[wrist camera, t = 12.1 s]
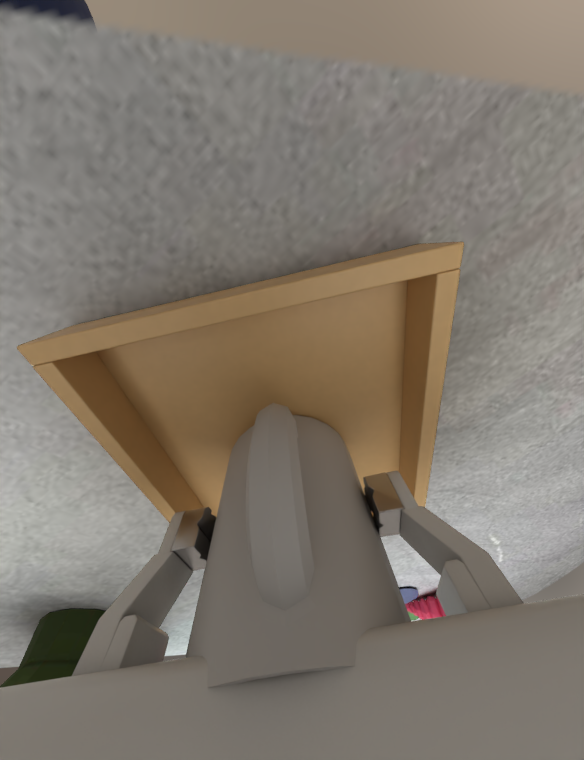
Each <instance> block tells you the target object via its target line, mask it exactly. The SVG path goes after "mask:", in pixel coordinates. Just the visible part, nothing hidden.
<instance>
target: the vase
mask: <svg viewBox="0 0 584 760" xmlns="http://www.w3.org/2000/svg"><path fill="white" fill-rule="evenodd" d="M105 612H106V611H101V610H96V609H67V610H61V611H56V612H51V613H48V614H47V615H46V616H45V617H43V618H42V619H41V620H40V622H39V624H38V626H37V628H36V630H35V633H34V635H33V637H32V639H31V642H30V644H29V646H28V648H27V651H26V653H25V655H24V657H23V659H22V662H21V664H20V666H19V668H18V670H17V671H16V672H15V673H14V674H12V675H11V676H10V677H9V678H8V679H7V680H6V681H5V682H4V683H3V684H2V685H1V686H0V688H1V687H7V686H14V685H20V684H26V683H32V682H39V681H45V680H51V679H57V678H63V677H70V676H72V674H73V672H74V670H75V668H76V666H77V664H78V662H79V660H80V658H81V656H82V653H83V651H84V649H85V647H86V645H87V643H88V641H89V639H90V637H91V635H92V633H93V631H94V628H95V626H96V624H97V622H98V620H99V619H100V617H101V616H102V615H103V614H104V613H105Z"/></svg>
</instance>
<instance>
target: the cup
mask: <svg viewBox="0 0 584 760" xmlns="http://www.w3.org/2000/svg"><path fill="white" fill-rule="evenodd" d="M406 622H411V619H410V617H409V614H408V611H407V609H406V606H405V603H404V600H403V598H402V595H401V592H400V589H399V587H398V584H397V581H396V579H395V576H394V573H393V570H392V568H391V565H390V562H389V559H388V557H387V554H386V551H385V549H384V546H383V543H382V540H381V538H380V535H379V532H378V530H377V527H376V524H375V522H374V519H373V516H372V513H371V510H370V508H369V505H368V502H367V500H366V497H365V494H364V491H363V489H362V486H361V483H360V480H359V478H358V475H357V472H356V470H355V467H354V464H353V461H352V459H351V456H350V453H349V451H348V449H347V446H346V444H345V442H344V441H343V439H342V438H341V436H340V435H339V433H338V432H337V431H335V430H334V429H333V428H332V427H330V426H329V425H328V424H326V423H323V422H321V421H319V420H316V419H314V418H312V417H306V416H301V415H292V413H291V412H290V410H289V408H288V407H287V406H283V405H279V404H276V403H272V404H270V405H268V406H267V407H265V408H264V409H262V410H260V411H259V413H258V414H257V416H256V420H255V424H254V426H252V427H251V428H249V429H248V430H247V431H246V432H245V433H244V434H242V435H241V436H240V437H239V438H238V440H237V442H236V443H235V445H234V447H233V448H232V451H231V455H230V458H229V462H228V467H227V471H226V476H225V481H224V485H223V490H222V494H221V499H220V503H219V508H218V512H217V517H216V521H215V526H214V531H213V535H212V540H211V544H210V549H209V553H208V558H207V562H206V567H205V571H204V576H203V581H202V585H201V590H200V594H199V599H198V603H197V608H196V612H195V617H194V621H193V626H192V631H191V635H190V640H189V644H188V649H187V653H186V658H188V657H194V656H203V657H204V658H205V659H206V660H207V663H208V688H211V687H217V686H224V685H231V684H237V683H242V682H246V681H250V680H255V679H261V678H267V677H273V676H279V675H285V674H292V673H302V672H311V671H321V670H329V669H336V668H342V667H349V666H355V658H356V644H357V641H358V639H359V638H360V636H361V635H362V634H363V633H364V632H365V631H366V630H368V629H370V628H374V627H381V626H387V625H393V624H399V623H406Z"/></svg>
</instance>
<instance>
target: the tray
mask: <svg viewBox="0 0 584 760" xmlns="http://www.w3.org/2000/svg"><path fill="white" fill-rule="evenodd" d="M463 247H464V243H463V242H446V243H428V244H426V243H425V244H417V245H412V246H408V247H404V248H400V249H395V250H391V251H387V252H383V253H378V254H374V255H370V256H366V257H361V258H357V259H353V260H349V261H344V262H340V263H336V264H332V265H327V266H323V267H319V268H315V269H311V270H306V271H302V272H298V273H294V274H289V275H285V276H281V277H277V278H272V279H268V280H264V281H260V282H255V283H251V284H247V285H243V286H238V287H234V288H230V289H226V290H222V291H217V292H213V293H209V294H205V295H200V296H196V297H192V298H188V299H183V300H179V301H175V302H171V303H166V304H162V305H158V306H154V307H149V308H145V309H141V310H137V311H132V312H128V313H124V314H120V315H116V316H111V317H107V318H103V319H99V320H94V321H90V322H86V323H82V324H77V325H73V326H70V327H67V328H65V329H62V330H59V331H56V332H54V333H51V334H48V335H46V336H43V337H40V338H37V339H35V340H32V341H29V342H27V343H24V344H21V345H18V346H17V349H18V350H19V352H20V353H21V354H22V355H23V356H24V357H25V358H26V359H27V361H28V362H29V363H30V364H31V365H35V366H33V368H34V369H35V370H36V372H37V373H38V374H39V375H40V376H41V377H42V378H43V380H44V381H45V382H46V383H47V384H48V385H49V386H50V388H51V389H52V390H53V391H54V392H55V393H56V394H57V395H58V397H59V398H60V399H61V400H62V401H63V402H64V403H65V405H66V406H67V407H68V408H69V409H70V410H71V411H72V413H73V414H74V415H75V416H76V417H77V418H78V419H79V421H80V422H81V423H82V424H83V425H84V426H85V427H86V428H87V430H88V431H89V432H90V433H91V434H92V435H93V436H94V438H95V439H96V440H97V441H98V442H99V443H100V444H101V446H102V447H103V448H104V449H105V450H106V451H107V452H108V453H109V455H110V456H111V457H112V458H113V459H114V460H115V461H116V463H117V464H118V465H119V466H120V467H121V468H122V469H123V471H124V472H125V473H126V474H127V475H128V476H129V477H130V479H131V480H132V481H133V482H134V483H135V484H136V485H137V486H138V488H139V489H140V490H141V491H142V492H143V493H144V494H145V496H146V497H147V498H148V499H149V500H150V501H151V502H152V504H153V505H154V506H155V507H156V508H157V509H158V510H159V511H160V513H161V514H162V515H163V516H164V517H165V518H166V519H167V521H168V522H169V523H170V522H171V519H172V517H173V515H174V514H175V513H177V512H182V511H188V510H194V509H199V508H205V507H209V508H210V509H211V510H212V512H211V514H212V515H214V516H216V517H217V512H218V508H219V503H220V499H221V494H222V490H223V485H224V481H225V476H226V471H227V467H228V462H229V458H230V455H231V451H232V448H233V447H234V445H235V443H236V442H237V440H238V438H239V437H240V436H241V435H242V434H244V433H245V432H246V431H247V430H248V429H249V428H251V427H252V426H254V424H255V420H256V416H257V414H258V413H259V411H260V410H262V409H264V408H265V407H267V406H268V405H270V404H272V403H276V404H279V405H283V406H287V407H288V408H289V410H290V412H291V413H292V415H301V416H306V417H312V418H314V419H316V420H319V421H321V422H323V423H326V424H328V425H329V426H330V427H332V428H333V429H334V430H335V431H337V432H338V433H339V435H340V436H341V438H342V439H343V441H344V442H345V444H346V446H347V449H348V451H349V453H350V456H351V459H352V461H353V464H354V467H355V470H356V472H357V475H358V478H359V480H360V483H361V486H362V489H363V491H364V487H365V485H364V482H363V478H364V477H366V476H370V475H375V474H380V473H387V472H391V471H398V472H399V473H400V474H401V476H402V478H403V480H404V481H405V483H406V485H407V487H408V488H409V490H410V492H411V494H412V495H413V497H414V499H415V501H416V503H417V504H418V506H423V507H425V504H426V497H427V491H428V484H429V477H430V471H431V464H432V457H433V450H434V444H435V437H436V430H437V424H438V417H439V410H440V404H441V397H442V390H443V383H444V377H445V370H446V363H447V357H448V350H449V343H450V337H451V330H452V323H453V316H454V310H455V303H456V296H457V290H458V283H459V276H460V269H458V268H460V266H461V261H462V254H463ZM364 494H365V493H364ZM371 513H372V512H371ZM372 516H373V513H372Z"/></svg>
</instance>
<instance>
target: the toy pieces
mask: <svg viewBox="0 0 584 760" xmlns="http://www.w3.org/2000/svg"><path fill="white" fill-rule="evenodd" d="M400 592H401V595H402V598H403V600H404V603H405V606H406V609H407V611H408V614H409V617H410V619H411V620H416V619H418V618H420V619H422V620H424V619H430V618H437V617H443V616H446V614H445V612H444V610H443V608H442V606H441V604H440V601H439V599H438V597H436V598H435V597H433V596H427V599H426V600H424V599H423V598H421V599H420V600H419V601H417V600H414V599H416V598H417V597H418V591H417V590H415V589H412V588H401V589H400ZM412 600H414V603H413V602H411V601H412Z"/></svg>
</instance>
